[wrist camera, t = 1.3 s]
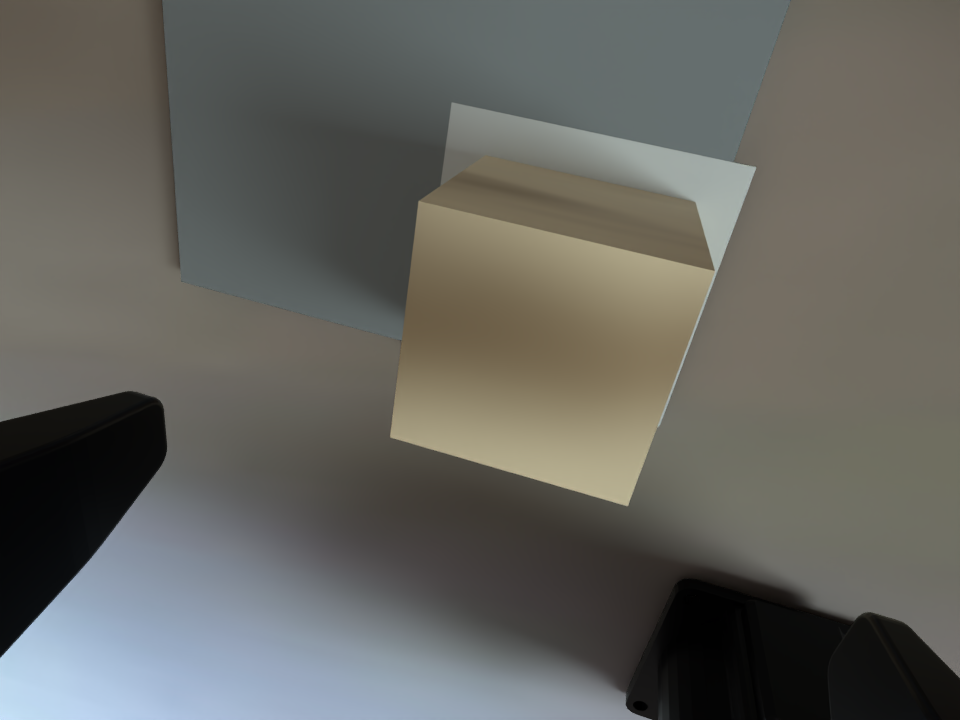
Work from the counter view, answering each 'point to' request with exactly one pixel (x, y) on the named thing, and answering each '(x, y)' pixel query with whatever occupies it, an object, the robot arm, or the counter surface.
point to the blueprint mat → (436, 126)
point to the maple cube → (547, 323)
